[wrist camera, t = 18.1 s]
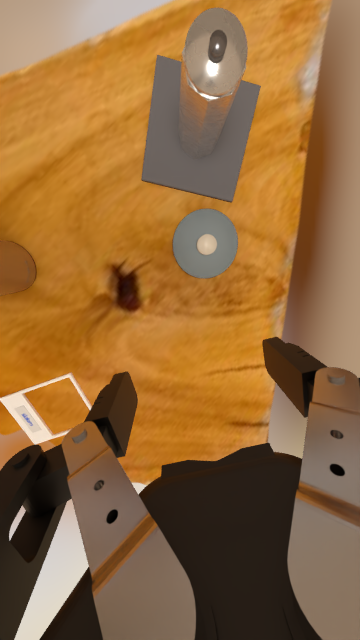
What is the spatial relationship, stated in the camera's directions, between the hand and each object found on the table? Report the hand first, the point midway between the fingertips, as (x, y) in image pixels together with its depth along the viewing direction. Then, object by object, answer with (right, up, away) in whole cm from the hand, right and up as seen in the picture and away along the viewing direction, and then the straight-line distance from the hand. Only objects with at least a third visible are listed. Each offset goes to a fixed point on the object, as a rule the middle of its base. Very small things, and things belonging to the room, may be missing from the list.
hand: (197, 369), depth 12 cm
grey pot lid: (+4, +17, +26) cm, 32 cm away
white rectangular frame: (-31, -18, +37) cm, 52 cm away
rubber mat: (+2, +33, +21) cm, 39 cm away
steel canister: (+2, +33, +21) cm, 39 cm away
